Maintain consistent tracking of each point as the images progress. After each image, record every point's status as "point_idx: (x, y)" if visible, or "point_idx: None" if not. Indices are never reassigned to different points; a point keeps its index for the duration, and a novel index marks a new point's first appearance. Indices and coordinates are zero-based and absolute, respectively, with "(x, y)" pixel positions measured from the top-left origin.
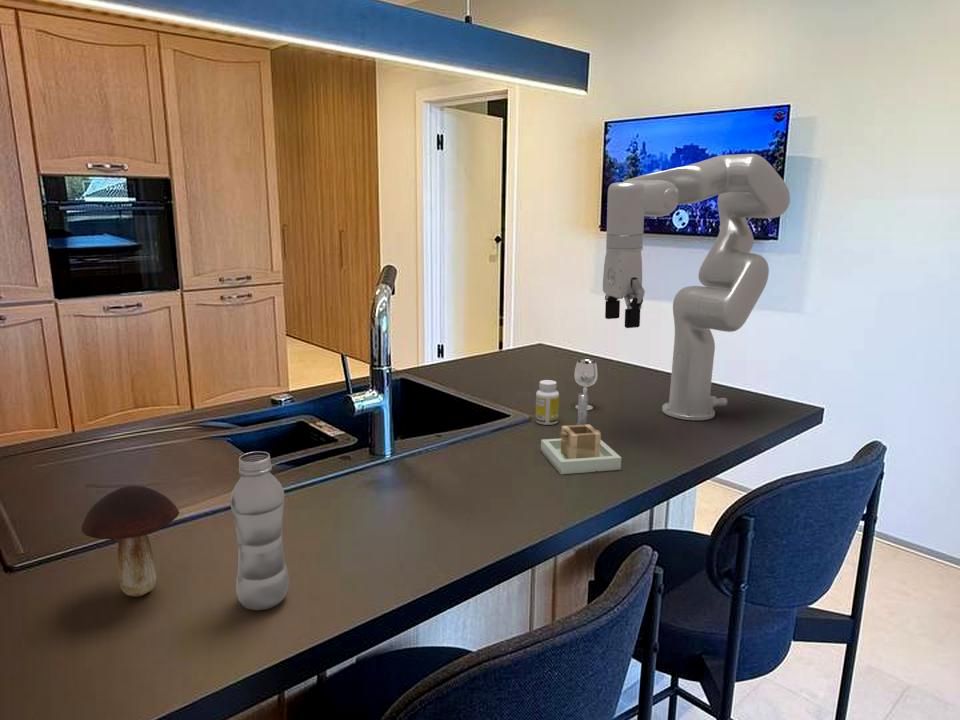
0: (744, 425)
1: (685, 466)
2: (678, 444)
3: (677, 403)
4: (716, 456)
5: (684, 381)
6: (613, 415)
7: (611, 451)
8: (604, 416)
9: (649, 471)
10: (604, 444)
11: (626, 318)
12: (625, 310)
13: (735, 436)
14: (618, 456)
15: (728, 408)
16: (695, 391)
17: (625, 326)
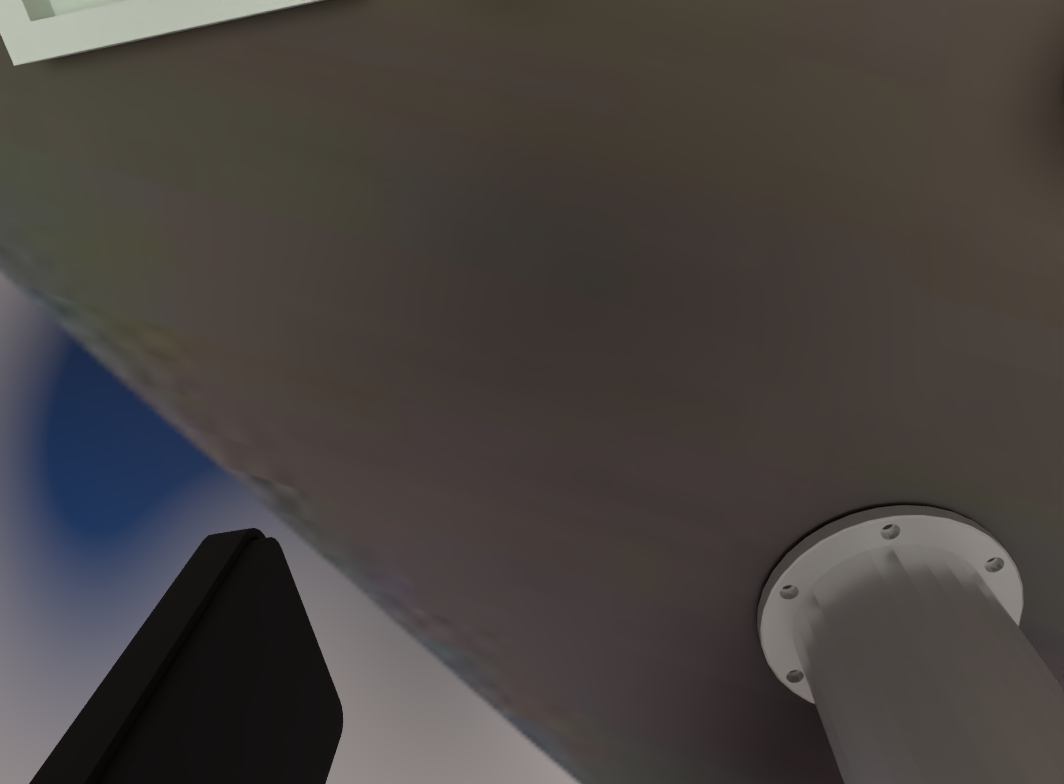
0: (685, 750)
1: (167, 382)
2: (443, 436)
3: (862, 588)
4: (307, 536)
5: (884, 704)
6: (922, 231)
7: (98, 27)
8: (914, 171)
9: (67, 204)
10: (210, 9)
11: (135, 650)
12: (73, 779)
13: (551, 677)
14: (29, 51)
15: None
16: (830, 707)
17: (210, 537)
